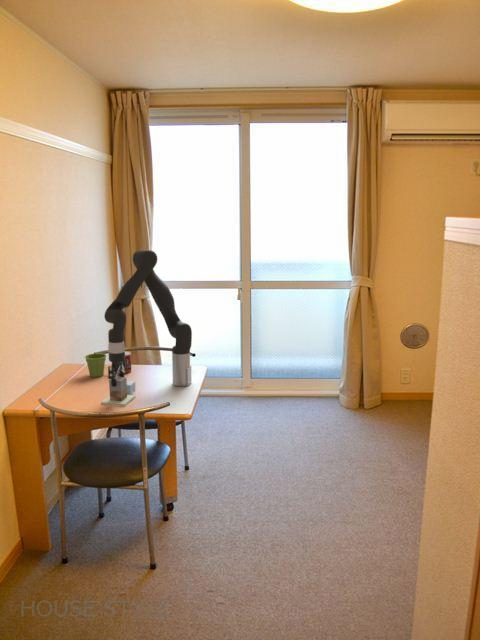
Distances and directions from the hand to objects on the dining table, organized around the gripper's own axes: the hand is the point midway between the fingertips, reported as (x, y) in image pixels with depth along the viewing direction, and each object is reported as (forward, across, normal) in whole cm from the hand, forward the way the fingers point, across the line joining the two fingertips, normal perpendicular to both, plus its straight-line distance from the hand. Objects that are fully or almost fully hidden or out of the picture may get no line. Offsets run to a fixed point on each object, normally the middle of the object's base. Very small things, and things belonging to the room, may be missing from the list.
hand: (118, 383), depth 244 cm
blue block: (+9, +12, +1) cm, 15 cm away
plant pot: (+9, +33, +29) cm, 45 cm away
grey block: (+3, 0, 0) cm, 3 cm away
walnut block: (+8, 0, 0) cm, 8 cm away
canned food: (+9, +43, +17) cm, 47 cm away
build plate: (+9, 0, 0) cm, 9 cm away
